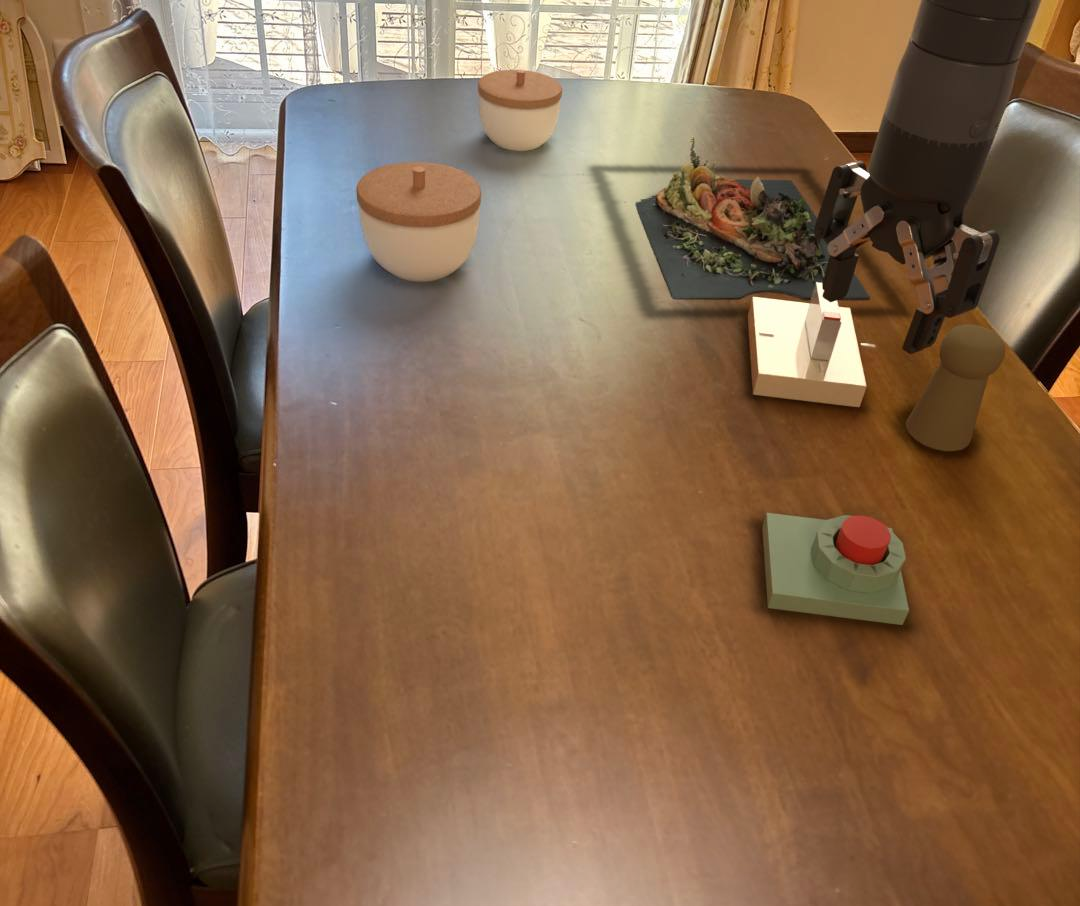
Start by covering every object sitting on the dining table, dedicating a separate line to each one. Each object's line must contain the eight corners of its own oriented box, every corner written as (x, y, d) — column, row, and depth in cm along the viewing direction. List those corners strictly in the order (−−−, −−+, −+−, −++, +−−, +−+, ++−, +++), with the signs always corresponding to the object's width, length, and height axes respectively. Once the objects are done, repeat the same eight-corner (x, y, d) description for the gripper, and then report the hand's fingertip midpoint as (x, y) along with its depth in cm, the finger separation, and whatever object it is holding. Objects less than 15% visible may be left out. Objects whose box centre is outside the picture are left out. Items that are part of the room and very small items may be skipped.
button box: (884, 547, 83) (899, 511, 80) (900, 630, 76) (917, 593, 73) (760, 532, 83) (771, 495, 80) (765, 613, 76) (778, 576, 74)
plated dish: (591, 173, 130) (598, 116, 125) (799, 177, 135) (814, 121, 129) (650, 324, 105) (662, 260, 100) (903, 322, 110) (927, 261, 105)
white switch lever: (805, 319, 102) (816, 279, 99) (823, 321, 102) (835, 281, 99) (810, 358, 97) (822, 317, 94) (829, 360, 97) (842, 319, 93)
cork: (962, 420, 96) (1007, 318, 89) (975, 460, 92) (1024, 357, 84) (897, 413, 96) (937, 311, 89) (908, 453, 92) (950, 349, 84)
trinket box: (512, 169, 130) (516, 93, 123) (460, 139, 135) (460, 65, 128) (574, 149, 135) (580, 76, 129) (521, 122, 140) (525, 50, 134)
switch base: (857, 334, 106) (866, 308, 104) (874, 414, 96) (885, 387, 94) (746, 321, 106) (752, 294, 104) (751, 399, 96) (758, 371, 94)
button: (880, 535, 78) (887, 518, 77) (886, 568, 76) (894, 551, 74) (833, 529, 78) (839, 512, 77) (838, 561, 76) (844, 545, 74)
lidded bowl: (338, 259, 110) (331, 159, 103) (435, 230, 116) (435, 134, 109) (403, 311, 103) (400, 208, 96) (502, 278, 110) (507, 178, 102)
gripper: (1063, 146, 67) (974, 355, 78) (900, 73, 75) (840, 271, 86) (990, 167, 64) (908, 382, 75) (827, 88, 72) (775, 292, 83)
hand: (872, 323), depth 81 cm, fingers open, 8 cm apart
